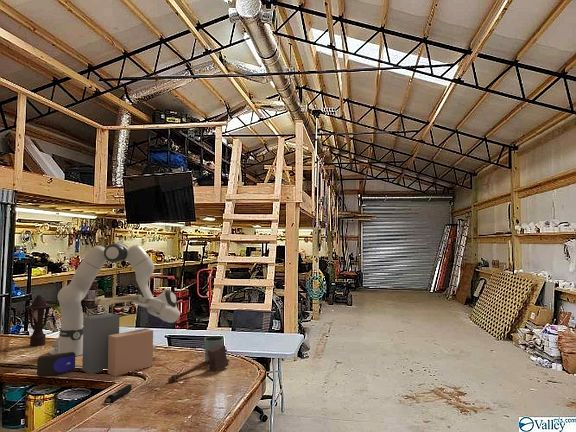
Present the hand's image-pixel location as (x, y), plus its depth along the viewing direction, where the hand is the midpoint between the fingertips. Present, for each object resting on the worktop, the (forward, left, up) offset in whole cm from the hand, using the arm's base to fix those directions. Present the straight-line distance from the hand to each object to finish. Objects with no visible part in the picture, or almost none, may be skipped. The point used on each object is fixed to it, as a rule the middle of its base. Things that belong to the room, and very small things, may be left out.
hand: (135, 296), depth 230 cm
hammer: (+44, +7, -34) cm, 56 cm away
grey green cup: (+32, +27, -34) cm, 54 cm away
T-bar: (0, -8, -2) cm, 8 cm away
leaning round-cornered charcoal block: (-10, -35, -34) cm, 50 cm away
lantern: (-77, -19, -34) cm, 86 cm away
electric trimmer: (+42, -32, -34) cm, 63 cm away
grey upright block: (0, -18, -34) cm, 38 cm away
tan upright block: (+12, -9, -34) cm, 37 cm away
